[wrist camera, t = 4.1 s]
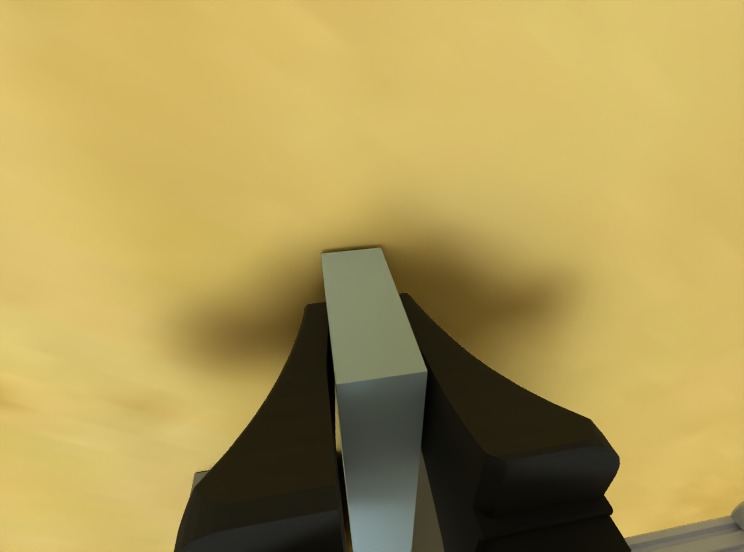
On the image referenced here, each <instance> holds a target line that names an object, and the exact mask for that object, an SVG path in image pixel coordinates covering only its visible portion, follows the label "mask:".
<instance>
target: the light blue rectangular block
mask: <svg viewBox="0 0 744 552" xmlns="http://www.w3.org/2000/svg"><path fill="white" fill-rule="evenodd" d="M321 260H322V270H323V279H324V289H325V298H326V305H327V313H328V322H329V331H330V341H331V350H332V360H333V369H334V379H335V393H336V402H337V411H338V421H339V430H340V440H341V449H342V459H343V468H344V478H345V487H346V496H347V505H348V514H349V523H350V532H351V541H352V550H353V552H411V549H412V538H413V527H414V516H415V505H416V494H417V483H418V472H419V460H420V449H421V438H422V427H423V416H424V405H425V394H426V383H427V372H428V371H427V368H426V366H425V363H424V360H423V358H422V355H421V352H420V350H419V347H418V345H417V342H416V339H415V337H414V334H413V331H412V329H411V326H410V323H409V321H408V318H407V315H406V313H405V310H404V307H403V305H402V302H401V299H400V297H399V294H398V291H397V289H396V286H395V284H394V281H393V278H392V276H391V273H390V270H389V268H388V265H387V262H386V260H385V257H384V254H383V252H382V249H381V248H371V249H361V250H351V251H341V252H331V253H321Z"/></svg>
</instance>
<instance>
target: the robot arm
mask: <svg viewBox="0 0 744 552" xmlns="http://www.w3.org/2000/svg"><path fill="white" fill-rule="evenodd" d="M399 297H400V299H401V302H402V305H403V307H404V310H405V313H406V315H407V318H408V321H409V323H410V326H411V329H412V331H413V334H414V337H415V339H416V342H417V345H418V347H419V350H420V352H421V355H422V358H423V360H424V363H425V366H426V368H427V371H428V372H427V383H426V394H425V405H424V416H423V427H422V438H421V451H422V455H423V459H424V463H425V467H426V471H427V475H428V480H429V484H430V488H431V492H432V497H433V501H434V506H435V510H436V514H437V519H438V523H439V528H440V532H441V537H442V542H443V547H444V552H744V501H743V502H742V503H740V504H739V505H738V506H737V507H736V508H735V509H734V510H733V511H732V513H731V515H730V516H725V517H721V518H716V519H711V520H707V521H702V522H697V523H692V524H688V525H683V526H678V527H674V528H669V529H664V530H660V531H655V532H650V533H646V534H641V535H636V536H632V537H627V538H623V536H622V534H621V533H620V531H619V530H618V528H617V527H616V525H615V523H614V522H613V520H612V519H611V517H610V515H612V513H613V509H612V507H611V505H610V504H609V502H608V500H607V499H606V497H605V496H604V494H605V492H606V490H607V489H608V487H609V486H610V484H611V482H612V481H613V479H614V477H615V476H616V474H617V471H618V469H619V465H620V460H619V456H618V454H617V453H616V452H615V450H614V449H613V448H612V446H611V445H610V443H609V442H608V441H607V439H606V438H605V436H604V435H603V434H602V432H601V431H600V430H599V429H598V428H597V427H596V425H595V424H594V423H593V422H592V421H591V419H588V418H586V417H584V416H581V415H579V414H577V413H574V412H572V411H570V410H567V409H565V408H563V407H560V406H558V405H556V404H554V403H552V402H549V401H547V400H545V399H543V398H541V397H539V396H537V395H536V394H534V393H532V392H530V391H528V390H526V389H524V388H522V387H520V386H519V385H517V384H515V383H514V382H512V381H510V380H509V379H507V378H505V377H504V376H502V375H500V374H499V373H497V372H496V371H494V370H492V369H491V368H489V367H488V366H487V365H485V364H484V363H482V362H481V361H480V360H478V359H477V358H475V357H474V356H473V355H471V354H470V353H469V352H468V351H466V350H465V349H464V348H463V347H461V346H460V345H459V344H458V343H457V342H456V341H454V340H453V339H452V338H451V337H450V336H449V335H448V334H447V333H446V332H444V331H443V330H442V329H441V328H440V327H439V326H438V325H437V324H436V323H435V322H434V321H433V320H432V319H431V318H430V317H429V316H428V315H427V314H426V313H425V312H424V311H423V310H422V309H421V308H420V306H419V305H418V304H417V303H416V302H415V301H414V300H413V299H412V298H411V297H410V295H408V294H407V293H401V294H399ZM174 552H346V544H345V534H344V524H343V515H342V505H341V495H340V485H339V475H338V465H337V456H336V439H335V379H334V369H333V360H332V350H331V341H330V331H329V322H328V313H327V305H326V302H323V303H314V304H308V305H307V306H306V307H305V309H304V315H303V319H302V323H301V326H300V329H299V332H298V335H297V338H296V340H295V343H294V345H293V348H292V350H291V353H290V355H289V357H288V359H287V361H286V363H285V365H284V367H283V370H282V372H281V374H280V375H279V377H278V379H277V381H276V383H275V385H274V386H273V388H272V390H271V391H270V393H269V395H268V396H267V398H266V400H265V401H264V403H263V404H262V406H261V407H260V409H259V410H258V412H257V413H256V415H255V416H254V417H253V419H252V420H251V422H250V423H249V424H248V426H247V427H246V428H245V429H244V431H243V432H242V433H241V435H240V436H239V437H238V438H237V440H236V441H235V442H234V443H233V445H232V446H231V447H230V448H229V450H228V451H227V452H226V453H225V454H224V455H223V457H222V458H221V459H220V460H219V461H218V462H217V463H216V464H215V465H214V466H213V467H212V469H211V470H210V471H209V472H208V473H207V474H206V475H205V476H204V477H203V478H202V479H201V480H200V481H199V483H198V484H197V485H196V486H195V487H194V489H193V491H192V493H191V496H190V498H189V501H188V503H187V506H186V509H185V511H184V514H183V517H182V520H181V523H180V526H179V530H178V534H177V539H176V544H175V549H174Z"/></svg>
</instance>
